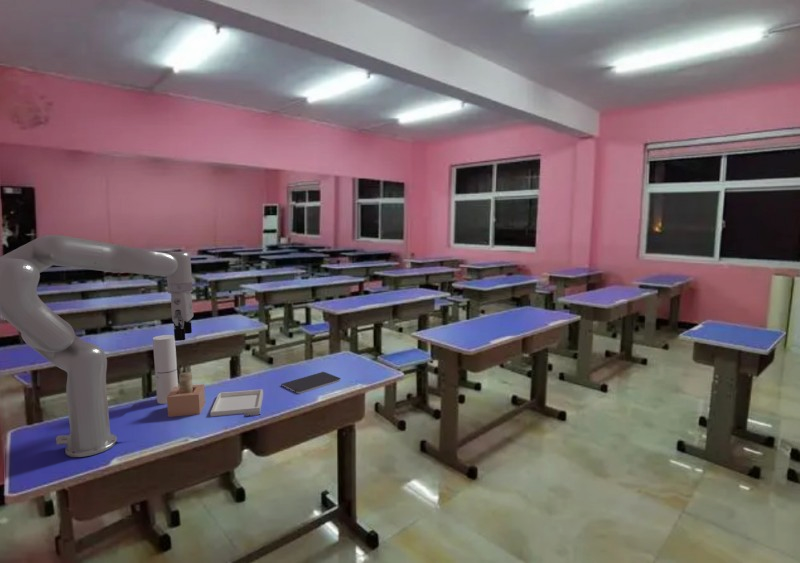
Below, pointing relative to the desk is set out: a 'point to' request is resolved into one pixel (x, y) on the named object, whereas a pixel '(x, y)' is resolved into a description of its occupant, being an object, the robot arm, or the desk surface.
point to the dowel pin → (185, 382)
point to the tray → (238, 403)
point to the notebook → (311, 382)
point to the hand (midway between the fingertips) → (183, 336)
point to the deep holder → (186, 401)
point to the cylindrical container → (165, 366)
